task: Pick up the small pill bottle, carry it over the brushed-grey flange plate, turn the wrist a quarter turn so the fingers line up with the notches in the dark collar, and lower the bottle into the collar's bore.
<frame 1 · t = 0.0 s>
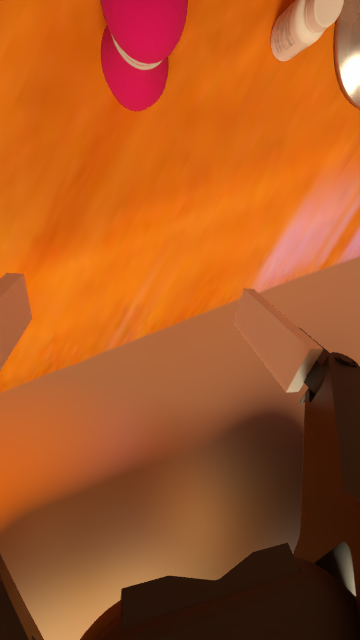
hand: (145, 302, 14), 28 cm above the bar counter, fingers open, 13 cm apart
pepper mill: (133, 79, 29), on the bar counter
pill bottle: (284, 38, 30), on the bar counter
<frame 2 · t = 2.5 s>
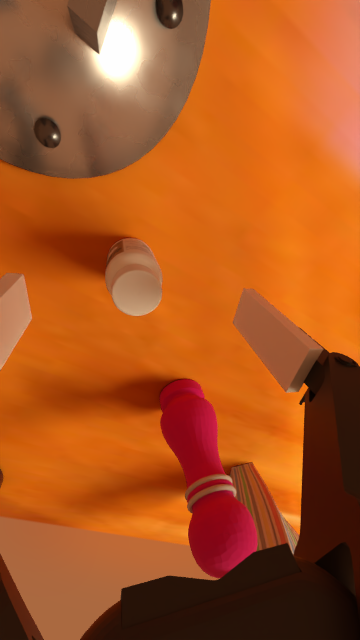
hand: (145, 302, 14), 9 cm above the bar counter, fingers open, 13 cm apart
pepper mill: (180, 393, 34), on the bar counter
vase: (239, 469, 51), on the bar counter
pill bottle: (130, 260, 22), on the bar counter
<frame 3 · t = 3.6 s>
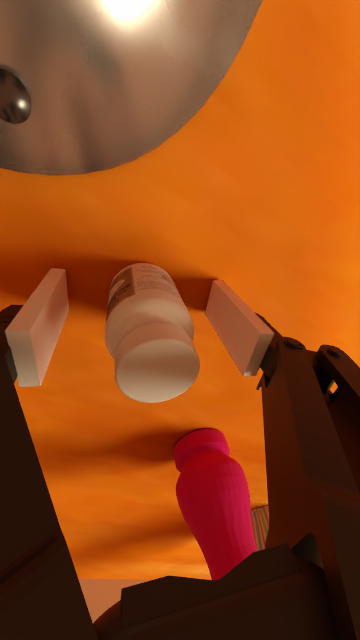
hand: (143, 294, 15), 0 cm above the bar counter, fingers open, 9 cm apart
pepper mill: (198, 442, 27), on the bar counter
vase: (259, 511, 45), on the bar counter
pill bottle: (142, 291, 16), on the bar counter
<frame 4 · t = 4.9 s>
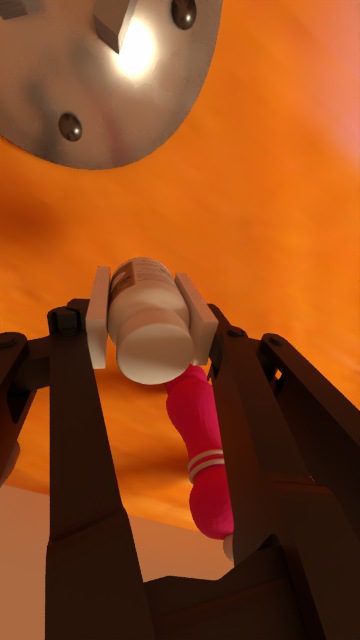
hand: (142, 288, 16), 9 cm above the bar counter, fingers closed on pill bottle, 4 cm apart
pepper mill: (185, 378, 35), on the bar counter
pill bottle: (142, 285, 17), point 9 cm above the bar counter, touching gripper
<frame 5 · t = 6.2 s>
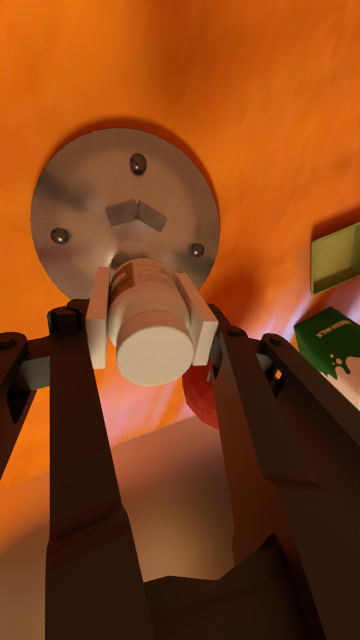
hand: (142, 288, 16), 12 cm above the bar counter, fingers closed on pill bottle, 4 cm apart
apple: (203, 350, 38), on the bar counter
olive square tray: (328, 254, 34), on the bar counter
flange plate: (133, 242, 26), on the bar counter
pill bottle: (142, 286, 17), point 12 cm above the bar counter, touching gripper
milk carton: (313, 330, 41), on the bar counter
when the fingers open (2 cm above the bar counter, at t = 7.8 s): pill bottle stays where it is, resting on flange plate.
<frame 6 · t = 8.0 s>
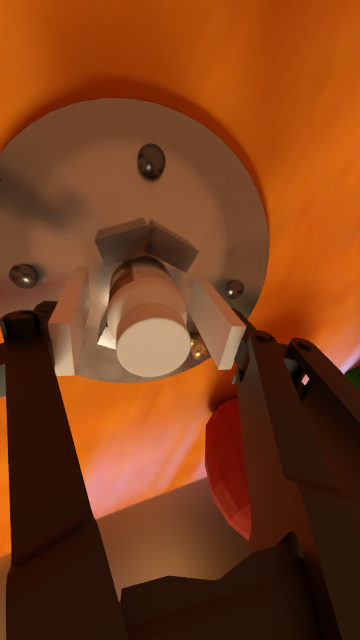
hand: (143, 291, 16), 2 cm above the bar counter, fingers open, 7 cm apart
apple: (228, 406, 29), on the bar counter
flange plate: (140, 279, 18), on the bar counter
pill bottle: (141, 282, 17), point 1 cm above the bar counter, touching flange plate
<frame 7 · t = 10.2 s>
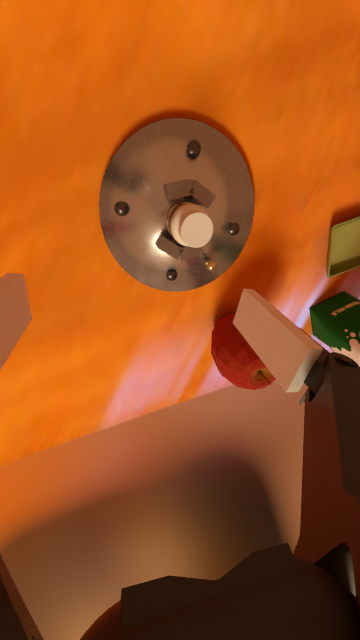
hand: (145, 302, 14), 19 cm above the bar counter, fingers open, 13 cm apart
apple: (227, 325, 41), on the bar counter
olive square tray: (344, 241, 38), on the bar counter
flange plate: (180, 218, 30), on the bar counter
pill bottle: (180, 219, 30), point 1 cm above the bar counter, touching flange plate
milk carton: (326, 313, 45), on the bar counter
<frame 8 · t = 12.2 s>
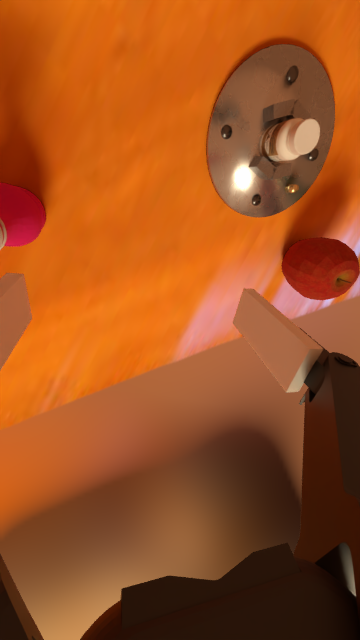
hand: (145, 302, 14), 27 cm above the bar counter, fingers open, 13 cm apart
pepper mill: (21, 211, 33), on the bar counter
apple: (292, 256, 46), on the bar counter
flange plate: (269, 144, 35), on the bar counter
pill bottle: (271, 144, 34), point 1 cm above the bar counter, touching flange plate
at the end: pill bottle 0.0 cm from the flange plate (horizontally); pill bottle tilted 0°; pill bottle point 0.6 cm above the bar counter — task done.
